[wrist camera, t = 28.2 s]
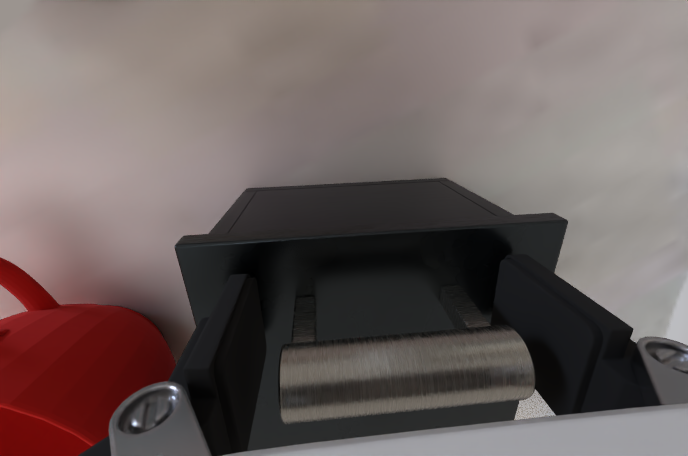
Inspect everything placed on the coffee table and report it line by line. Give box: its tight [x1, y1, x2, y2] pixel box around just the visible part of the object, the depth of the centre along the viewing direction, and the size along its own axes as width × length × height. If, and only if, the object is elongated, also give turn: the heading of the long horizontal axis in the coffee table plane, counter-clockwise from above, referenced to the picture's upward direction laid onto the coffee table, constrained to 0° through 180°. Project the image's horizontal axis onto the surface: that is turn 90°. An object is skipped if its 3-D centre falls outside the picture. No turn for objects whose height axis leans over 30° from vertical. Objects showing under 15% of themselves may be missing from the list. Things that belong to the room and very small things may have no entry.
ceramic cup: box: [0, 258, 176, 456], centre depth 17 cm, size 13×17×10 cm
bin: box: [209, 178, 513, 234], centre depth 19 cm, size 16×13×9 cm
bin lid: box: [175, 213, 568, 451], centre depth 12 cm, size 16×13×5 cm
